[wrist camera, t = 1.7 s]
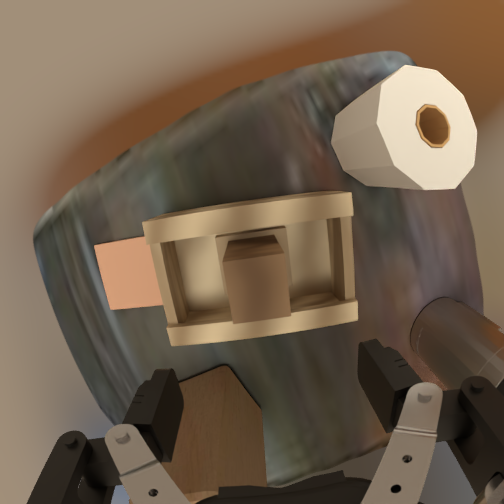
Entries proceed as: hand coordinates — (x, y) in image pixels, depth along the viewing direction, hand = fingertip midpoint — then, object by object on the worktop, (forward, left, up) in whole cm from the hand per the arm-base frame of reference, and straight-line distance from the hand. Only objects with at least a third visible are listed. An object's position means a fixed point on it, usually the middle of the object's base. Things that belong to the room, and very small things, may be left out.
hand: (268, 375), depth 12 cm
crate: (0, 0, -21) cm, 21 cm away
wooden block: (+8, +19, -21) cm, 30 cm away
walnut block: (0, 0, -18) cm, 18 cm away
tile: (+14, 0, -21) cm, 25 cm away
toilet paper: (-15, -11, -21) cm, 28 cm away
